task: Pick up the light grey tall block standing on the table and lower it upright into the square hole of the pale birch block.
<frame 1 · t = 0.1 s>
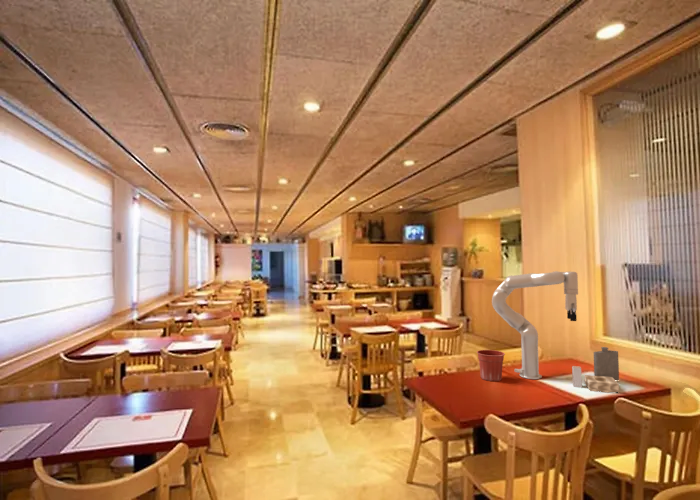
hand: (571, 319, 242), 37 cm above the table, tool pointing down, fingers open, 9 cm apart
hip flask: (606, 381, 239), on the table
light grey tall block: (577, 386, 229), on the table
flower pot: (491, 378, 246), on the table
birch block: (601, 388, 225), on the table
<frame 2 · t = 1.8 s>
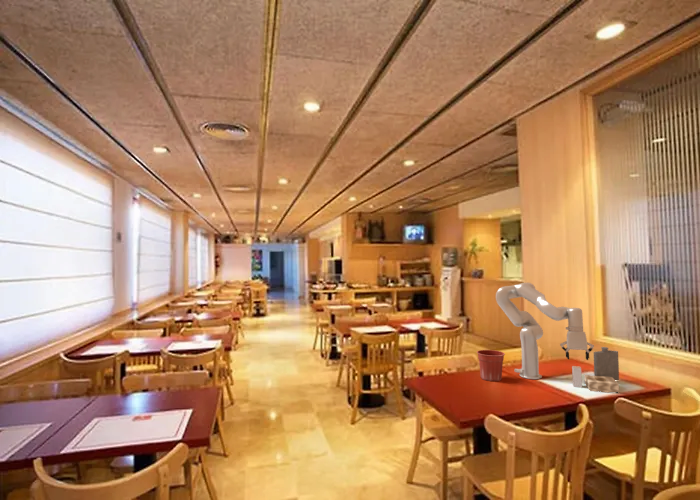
hand: (577, 359, 229), 16 cm above the table, tool pointing down, fingers open, 9 cm apart
nothing on the table moved.
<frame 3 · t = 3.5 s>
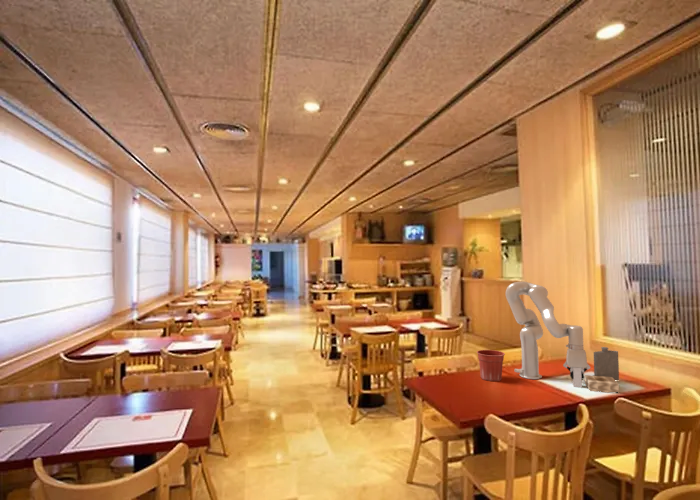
hand: (577, 378, 230), 4 cm above the table, tool pointing down, fingers closed on light grey tall block, 4 cm apart
light grey tall block: (577, 386, 229), on the table, touching gripper
everything else where it was.
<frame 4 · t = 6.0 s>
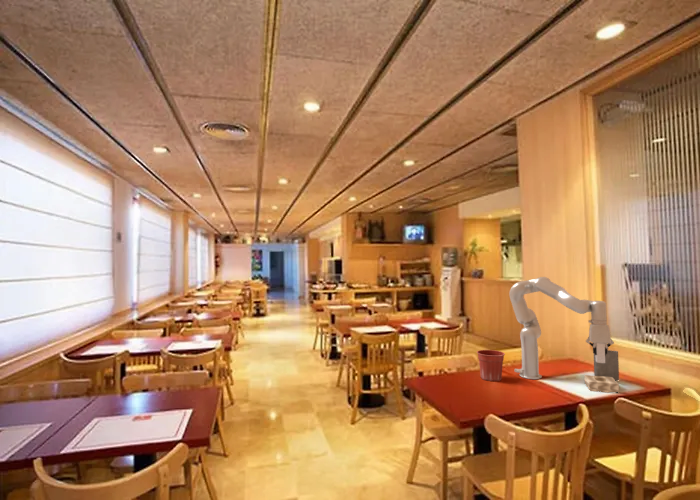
hand: (600, 354, 226), 19 cm above the table, tool pointing down, fingers closed on light grey tall block, 4 cm apart
light grey tall block: (600, 362, 225), point 15 cm above the table, touching gripper
everything else where it was.
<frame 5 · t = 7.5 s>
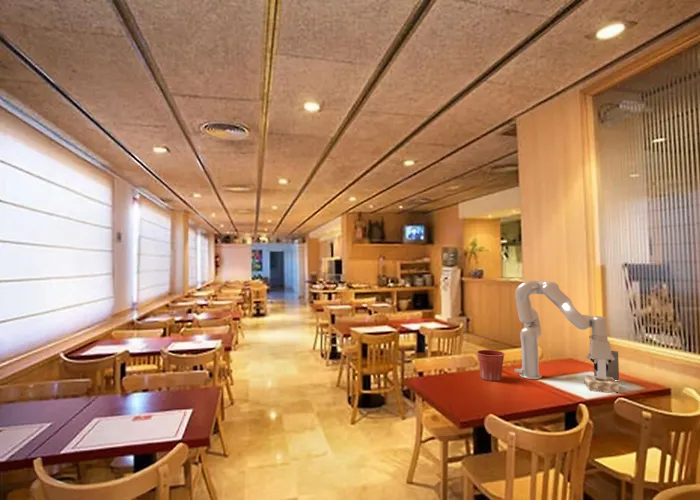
hand: (601, 370, 225), 10 cm above the table, tool pointing down, fingers closed on light grey tall block, 4 cm apart
light grey tall block: (601, 378, 225), point 6 cm above the table, touching gripper
everything else where it was.
when the fingers open (6 cm above the table, at t = 8.6 s): light grey tall block stays where it is, resting on birch block.
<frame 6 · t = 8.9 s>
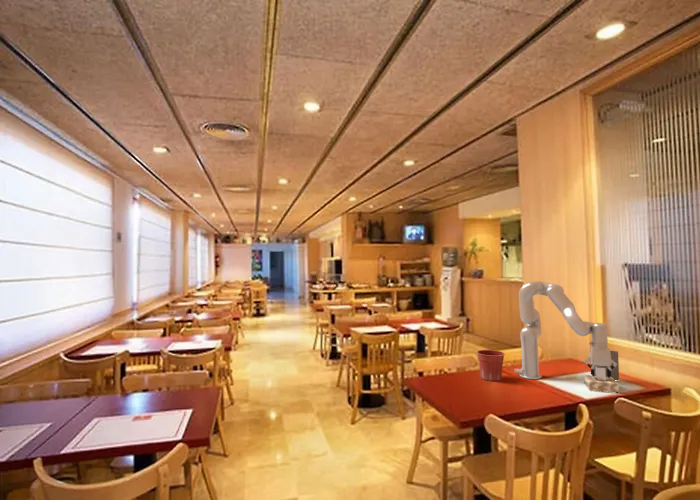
hand: (600, 376, 225), 7 cm above the table, tool pointing down, fingers open, 7 cm apart
light grey tall block: (601, 386, 225), point 1 cm above the table, touching birch block
everything else where it was.
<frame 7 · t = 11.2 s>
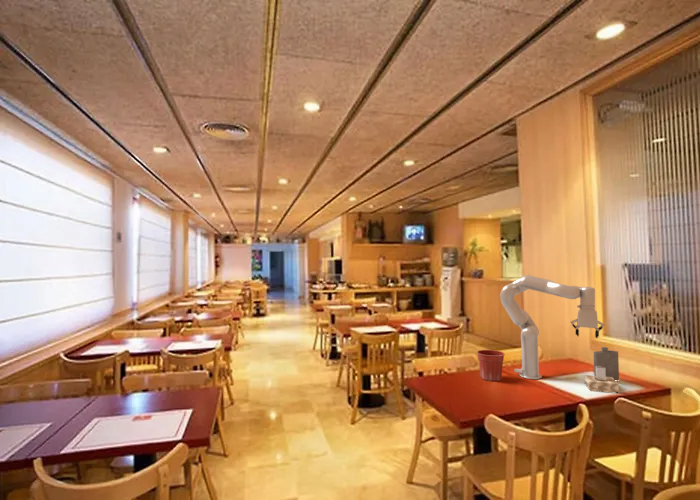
hand: (586, 336, 234), 28 cm above the table, tool pointing down, fingers open, 9 cm apart
nothing on the table moved.
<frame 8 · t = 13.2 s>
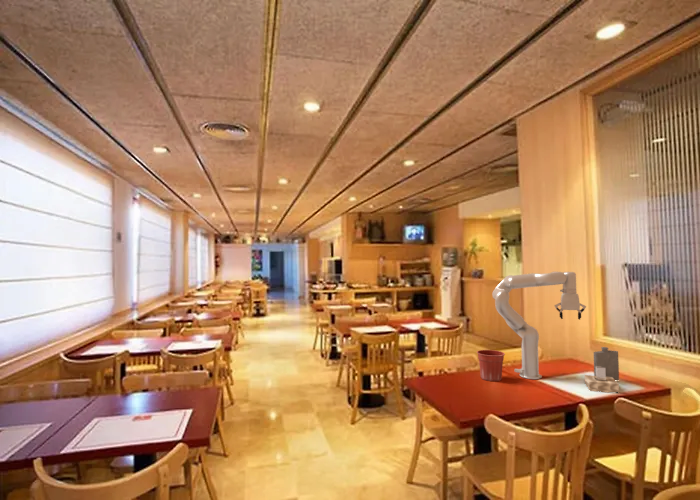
hand: (570, 318, 247), 36 cm above the table, tool pointing down, fingers open, 9 cm apart
nothing on the table moved.
at the end: light grey tall block 0.1 cm off-centre on the birch block, point 1.0 cm above the birch block's base; light grey tall block tilted 0°; the gripper is holding nothing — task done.
